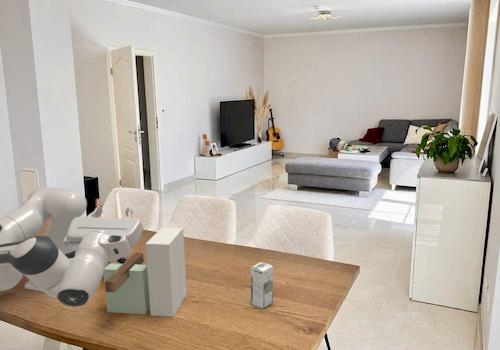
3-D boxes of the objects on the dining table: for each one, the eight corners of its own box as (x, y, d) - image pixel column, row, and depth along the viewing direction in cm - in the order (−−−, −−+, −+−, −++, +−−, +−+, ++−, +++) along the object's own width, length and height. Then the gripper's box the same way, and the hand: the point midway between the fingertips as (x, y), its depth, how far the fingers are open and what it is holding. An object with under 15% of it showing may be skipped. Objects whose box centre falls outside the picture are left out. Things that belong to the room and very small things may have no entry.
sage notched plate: (107, 312, 147) (103, 269, 143) (113, 304, 151) (109, 263, 148) (145, 314, 145) (142, 271, 141) (150, 306, 150) (147, 264, 146)
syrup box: (260, 298, 154) (260, 261, 151) (273, 303, 151) (273, 265, 148) (250, 304, 150) (250, 266, 147) (263, 309, 146) (263, 270, 143)
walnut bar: (105, 291, 134) (104, 281, 133) (136, 261, 157) (135, 252, 156) (114, 292, 133) (113, 282, 133) (143, 261, 157) (143, 252, 156)
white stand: (150, 315, 144) (145, 243, 139) (166, 293, 159) (162, 227, 154) (173, 316, 143) (168, 244, 137) (186, 294, 158) (183, 228, 153)
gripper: (65, 252, 116) (85, 215, 126) (135, 255, 113) (150, 217, 124) (56, 238, 112) (77, 201, 122) (129, 240, 109) (145, 202, 119)
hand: (114, 209), depth 123 cm, fingers open, 8 cm apart
